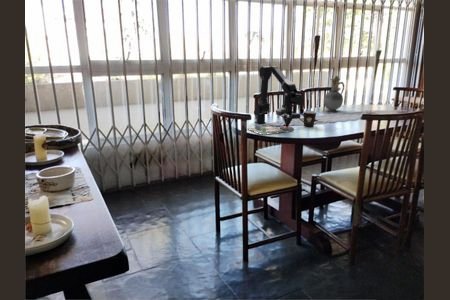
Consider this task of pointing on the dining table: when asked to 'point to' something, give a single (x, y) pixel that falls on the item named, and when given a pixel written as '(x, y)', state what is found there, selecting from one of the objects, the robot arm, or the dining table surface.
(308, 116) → the coffee mug
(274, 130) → the colouring board
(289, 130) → the button housing
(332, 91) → the pitcher
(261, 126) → the marker
